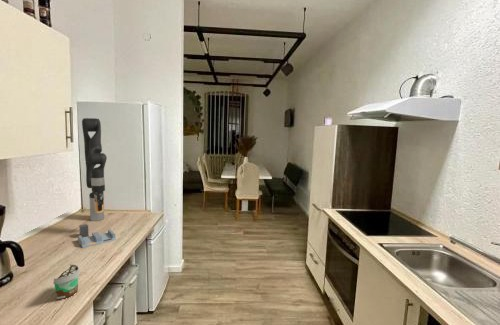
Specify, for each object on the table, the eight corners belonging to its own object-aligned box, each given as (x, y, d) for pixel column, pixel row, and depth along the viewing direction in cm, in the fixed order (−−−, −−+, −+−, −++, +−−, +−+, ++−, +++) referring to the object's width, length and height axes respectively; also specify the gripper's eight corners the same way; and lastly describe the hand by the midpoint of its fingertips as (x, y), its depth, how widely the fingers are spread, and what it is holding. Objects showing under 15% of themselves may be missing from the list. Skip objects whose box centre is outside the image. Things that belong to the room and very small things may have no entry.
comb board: (77, 240, 164) (77, 235, 164) (109, 233, 176) (109, 228, 176) (82, 248, 155) (82, 242, 154) (116, 240, 167) (115, 234, 166)
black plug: (79, 235, 171) (79, 225, 170) (87, 234, 174) (86, 223, 173) (81, 237, 168) (80, 227, 167) (88, 236, 171) (88, 225, 170)
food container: (70, 302, 108) (69, 279, 107) (54, 302, 107) (53, 279, 106) (86, 284, 120) (85, 263, 119) (72, 284, 119) (71, 263, 118)
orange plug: (94, 211, 176) (94, 201, 175) (101, 210, 178) (101, 200, 177) (96, 212, 173) (96, 202, 172) (103, 211, 175) (103, 201, 174)
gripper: (88, 182, 176) (89, 208, 178) (94, 187, 165) (95, 213, 168) (101, 181, 181) (102, 206, 183) (107, 185, 170) (108, 211, 173)
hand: (99, 209), depth 175 cm, fingers closed on orange plug, 4 cm apart
